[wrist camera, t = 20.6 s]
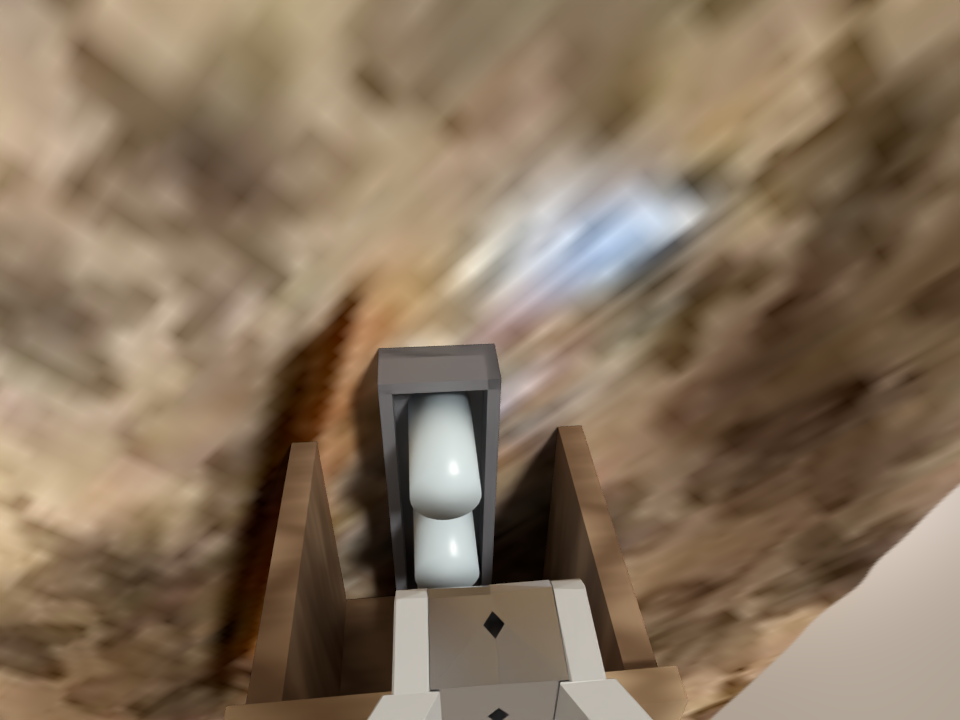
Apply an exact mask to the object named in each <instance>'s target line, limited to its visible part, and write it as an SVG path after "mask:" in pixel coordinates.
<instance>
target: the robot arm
mask: <svg viewBox="0 0 960 720" xmlns="http://www.w3.org/2000/svg"><path fill="white" fill-rule="evenodd" d="M367 720H653V719H652V718H651V717H650V716H649V715H648V714H647V712H646V711H645V710H644V709H643V708H642V707H641V706H640V705H639V704H638V702H637V701H636V700H635V699H634V698H633V697H632V696H631V695H630V694H629V693H628V691H627V690H626V689H625V688H624V687H623V686H622V685H621V684H620V683H619V681H618V680H617V679H616V678H608V679H606V675H605V671H604V666H603V662H602V658H601V653H600V649H599V645H598V640H597V636H596V632H595V627H594V623H593V618H592V614H591V610H590V605H589V601H588V597H587V592H586V588H585V585H584V583H583V582H582V580H581V579H580V578H578V579H565V580H552V581H549V580H541V581H529V582H516V583H504V584H492V585H485V586H468V587H451V588H433V589H428V588H424V589H410V590H396V594H395V600H394V628H393V665H392V694H387V695H382V696H381V698H380V699H379V701H378V703H377V704H376V706H375V707H374V709H373V711H372V712H371V714H370V715H369V717H368V719H367Z"/></svg>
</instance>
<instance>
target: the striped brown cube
mask: <svg viewBox="0 0 960 720" xmlns="http://www.w3.org/2000/svg"><path fill="white" fill-rule="evenodd" d="M578 578H580V579H581V580H582V582H583V583H584V585H585V588H586V592H587V597H588V601H589V605H590V610H591V614H592V618H593V623H594V627H595V632H596V636H597V640H598V645H599V649H600V653H601V658H602V662H603V666H604V671H605V675H606V679H608V678H616V679H617V680H618V681H619V683H620V684H621V685H622V686H623V687H624V688H625V689H626V690H627V691H628V693H629V694H630V695H631V696H632V697H633V698H634V699H635V700H636V701H637V702H638V704H639V705H640V706H641V707H642V708H643V709H644V710H645V711H646V712H647V714H648V715H649V716H650V717H651V718H652V719H653V720H681V718H682V715H683V713H684V710H685V707H686V705H687V702H688V698H687V695H686V692H685V689H684V686H683V683H682V680H681V677H680V674H679V671H678V668H677V666H666V667H658V666H657V663H656V660H655V657H654V653H653V650H652V647H651V644H650V641H649V638H648V634H647V631H646V628H645V625H644V622H643V619H642V615H641V612H640V609H639V606H638V603H637V600H636V596H635V593H634V590H633V587H632V584H631V581H630V577H629V574H628V571H627V568H626V565H625V562H624V558H623V555H622V552H621V549H620V546H619V543H618V539H617V536H616V533H615V530H614V527H613V524H612V520H611V517H610V514H609V511H608V508H607V505H606V501H605V498H604V495H603V492H602V489H601V486H600V482H599V479H598V476H597V473H596V470H595V467H594V463H593V460H592V457H591V454H590V451H589V448H588V444H587V441H586V438H585V435H584V432H583V429H582V426H566V427H558V433H557V443H556V453H555V463H554V472H553V482H552V492H551V502H550V511H549V521H548V531H547V541H546V551H545V560H544V570H543V580H549V581H552V580H565V579H578ZM394 600H395V596H388V597H376V598H363V599H351V600H346V595H345V589H344V584H343V579H342V573H341V568H340V563H339V557H338V552H337V547H336V542H335V536H334V531H333V526H332V520H331V515H330V510H329V504H328V499H327V494H326V488H325V483H324V478H323V472H322V467H321V462H320V456H319V451H318V446H317V442H303V443H292V445H291V451H290V456H289V462H288V468H287V473H286V479H285V485H284V490H283V496H282V502H281V507H280V513H279V519H278V524H277V530H276V536H275V541H274V547H273V553H272V559H271V564H270V570H269V576H268V581H267V587H266V593H265V598H264V604H263V610H262V615H261V621H260V627H259V632H258V638H257V644H256V649H255V655H254V661H253V666H252V672H251V678H250V683H249V689H248V695H247V700H246V705H235V706H226V710H225V715H224V720H367V719H368V717H369V715H370V714H371V712H372V711H373V709H374V707H375V706H376V704H377V703H378V701H379V699H380V698H381V696H382V695H387V694H392V665H393V628H394Z"/></svg>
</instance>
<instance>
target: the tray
mask: <svg viewBox="0 0 960 720" xmlns="http://www.w3.org/2000/svg"><path fill="white" fill-rule="evenodd" d="M378 395H379V406H380V417H381V428H382V439H383V449H384V460H385V471H386V482H387V493H388V504H389V514H390V525H391V536H392V547H393V558H394V569H395V579H396V590H410V589H424V588H428V589H433V588H451V587H468V586H485V585H492V565H493V544H494V523H495V502H496V481H497V459H498V438H499V417H500V396H501V375H500V370H499V364H498V359H497V354H496V349H495V344H477V345H453V346H429V347H404V348H380V349H379V358H378Z"/></svg>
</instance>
